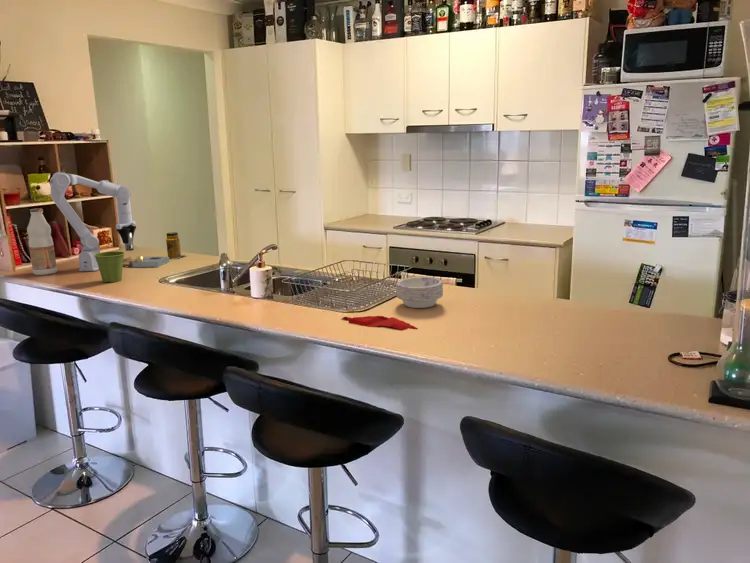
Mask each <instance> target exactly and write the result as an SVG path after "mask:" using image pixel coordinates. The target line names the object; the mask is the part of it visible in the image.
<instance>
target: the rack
mask: <svg viewBox="0 0 750 563" xmlns="http://www.w3.org/2000/svg"><path fill="white" fill-rule="evenodd" d="M135 260H137V259H136V258H135V259H132V257H131V256H129V257H125V258H124V259H123V267H122V268H124V267H125V268H126V267H127V266H128V267H127V268H130V267H129V266H132V262H133V261H135ZM132 267H133V266H132Z"/></svg>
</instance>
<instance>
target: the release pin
mask: <svg viewBox="0 0 750 563" xmlns="http://www.w3.org/2000/svg"><path fill="white" fill-rule="evenodd" d="M143 257H144V256H140V255H139V256H136V257H135V259H137V261H143Z"/></svg>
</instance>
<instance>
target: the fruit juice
mask: <svg viewBox="0 0 750 563" xmlns="http://www.w3.org/2000/svg"><path fill="white" fill-rule="evenodd" d="M29 212H30V218H29V222H28V224H27V227H26V232H27V235H28V236H29V237H28V247H29V249H28V250H29V254H30V261H31V268H32V272H33V275H35V276H45V275H51V274H52V275H53V274H56V273H57V272H58V268H57V266H58V265H57V261H56V260H57V259H56V253H55V246H54V245H55V244H54V241H53V240H54V239H53V237H52V235H51V234H52V228H51V225H50V224H49V223H48V222H47V220H46V218H45V216H44V214H43V213H44V209H43V208H31V209H29Z"/></svg>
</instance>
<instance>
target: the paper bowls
mask: <svg viewBox="0 0 750 563" xmlns="http://www.w3.org/2000/svg"><path fill="white" fill-rule="evenodd" d="M443 284H444V283H443V280H442V279H439V278H435V277H428V276H421V277H420V276H417V277H414V276H413V277H407V278H403V279H401V280H398V281H397V282H396V284H395V285H396V286H395V287H396V297H397V298H398V299H399V300H401V301H402V303H403V304H404V306H406V307H408V308H411V309H426V308H431V307H433V306H435V305H436V304H437V301H438V300H439V299H441V298H442V297H443V295H444V289H443V288H444V287H443Z"/></svg>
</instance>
